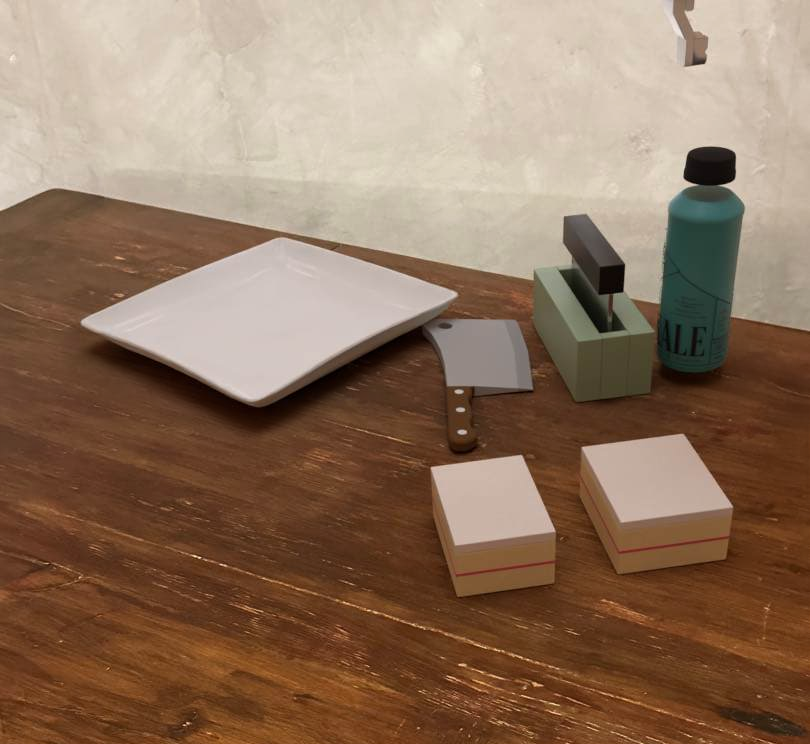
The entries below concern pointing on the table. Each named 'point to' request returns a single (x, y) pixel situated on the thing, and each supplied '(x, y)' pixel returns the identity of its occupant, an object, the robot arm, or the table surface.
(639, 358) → the cutter stand
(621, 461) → the cake
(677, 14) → the robot arm
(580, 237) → the cake cutter
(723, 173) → the beverage bottle
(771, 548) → the table surface
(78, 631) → the table surface
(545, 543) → the cake slice
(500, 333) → the kitchen cleaver
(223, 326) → the square plate
